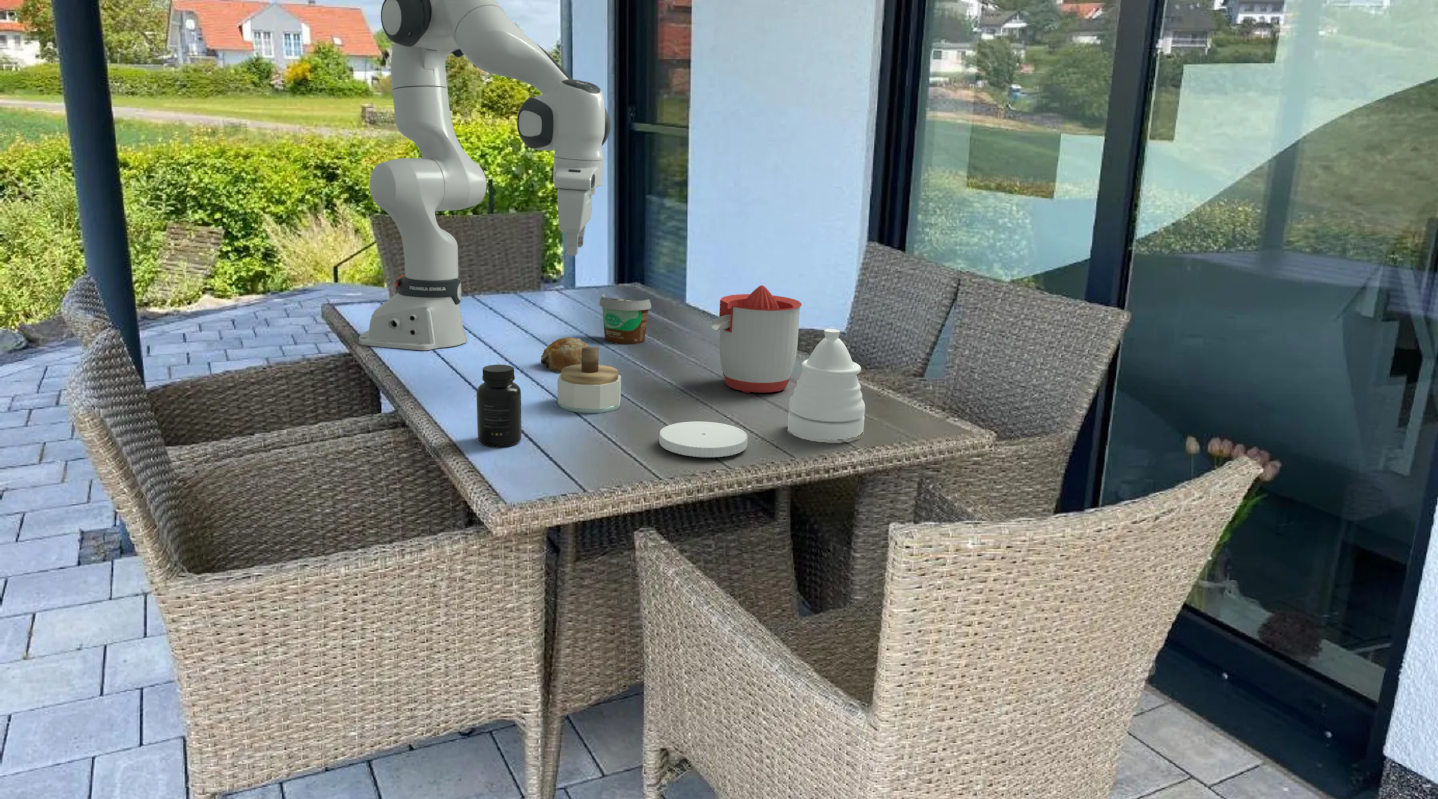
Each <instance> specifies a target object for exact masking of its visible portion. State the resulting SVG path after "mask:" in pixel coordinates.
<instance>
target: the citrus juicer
mask: <svg viewBox="0 0 1438 799" xmlns="http://www.w3.org/2000/svg"><path fill="white" fill-rule="evenodd" d="M802 306H803V305H802V302H801V301H800V300H797V299H795V298H791V297H787V296H786V297H785V296H781V295H774V294H772V293H771V292H770V291H769V289H768V288H767V287H766V286H764V285H759V286H758V287H757V288H755V289H754V290H753V291H752V292H751V293H745V294H743V293H741V294H738V293H737V294H732V295H731V294H730V295H726V296H722V297H721V298H720V300H719V315H718V316H719V317H716V318H715V319H713V320H712V323H711V327H710V328H711V329H712V331H715V332H716V331H717V332H718V331H719V357H720V358H719V359H720V365H721V369H722V374H723V378H724V381H725V384H726V386H728V387H730V388H731V389H734V390H738V391H743V392H742V393H744V392H746V393H745V394H751V393H750V392H753V393H773V392H781V391H780V390H782V391H783V390H785V389H786V388H787V385H788V384H789V381H790V379H791V375H792V373H793V370H794V367H795V362H796V359H797V352H798V343H799V327H800V315H801V314H800V313H801V311H800V310H801V307H802Z"/></svg>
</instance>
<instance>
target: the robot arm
mask: <svg viewBox="0 0 1438 799" xmlns="http://www.w3.org/2000/svg"><path fill="white" fill-rule="evenodd" d="M380 22H381V26H382V29H383V32H384V33H385V35H386V37H387V38H388V39H389V40H390V42H393V44H392V47H391V48H392V49H391V59H390V60H391V61H390V76H391V78H390V79H391V92H392V101H393V111H394V119H395V125H396V126H395V127H396V128H397V130H398V131H399V132H400V134H401V135H403V137H405V138H407V139H409V140H410V141H412V142H413V143H414V144H415V146H417V148H418V150H419V152H420V154H421V158H420V157H417V158H416V157H413V158H412V157H410V158H407V157H406V158H403V157H402V158H401V157H400V158H395V159H390V160H386V161H383V162H380V163H378V164H376V165H375V167H374V168H373V169H372V171H371V174H370V178H369V191H370V194H371V196H372V199H373V201H374V203H376V205H377V206H378V207H379V208H380V209H382V210H383V211H385V213H387V215H389V216H390V217H391V220H392V221H394V223H395V225H396V227H397V229H398V231H399V234H400V237H401V241H402V246H403V247H402V248H403V260H404V273H403V274H401V275H400V276H398V278H397V279H396V280H395V282H394V287H395V290H396V292H397V293H396V294H394V295H393V296H392V297H390V298H389V299H388V300H386V301H385V302H384V303H383V304H381V305H380V306H379V307H377V308H376V309H375V310H374V311H373V312H372V314H371V317H370V323H369V328H368V329H369V330H366V331H365V332H363V333H362V334H360V335H359V337H358V343H359V345H361V346H369V347H379V348H380V347H381V348H392V349H404V350H413V351H414V350H415V351H416V350H417V351H429V350H436V349H441V348H450V347H456V346H459V345H463V344H464V343H466V342H468V338H467V335H466V332H465V327H464V324H463V318H462V312H461V304H460V303H461V302H462V282H461V277H460V276H459V246H458V245H459V244H458V242H457V240H456V239H455V237H454V236H453V235H452V234H451V233H449V232H448V231H446V230H445V229H443V228H441V227H440V226H439V224H438V221H437V217H436V212H444V211H448V212H449V211H460V210H465V209H469V208H472V207H475V206H477V205H479V204H480V203H481V202H482V201H483V199H484V197H485V195H486V192H487V178H486V175H485V173H484V170H483V169H482V167H481V166H480V164H478V163H477V162H476V161H475V160H473V159H472V158H471V157H470V156H469V155H468V154H467V152H466V151H465V150H464V147H462V145H461V144H460V142H459V140H458V137H457V136H456V133H455V129H454V127H453V121H452V116H451V109H450V103H449V102H450V101H449V93H448V92H449V90H448V84H447V83H448V82H447V76H446V60H447V58H448V57H449V55H450V54H452V55H453V56H454V57H455V58H461V57H463V56H465V58H466V59H467V60H468V61H469V62H471V63H472V64H473V65H474V66H475V67H477V69H479V70H481V71H483V72H485V73H489V74H492V75H498V76H501V77H507V78H510V79H515V80H517V81H521V82H522V83H526V84H528V85H530V86H532V87H534V88H535V89H536V90H537V91H539V92H540V93H541V95H537V96H534V97H529V98H527V99H526V100H525V101H524V102H523V103H522V104H521V106H520V107H519V110H518V113H517V119H516V127H517V132H518V135H519V137H520V139H521V141H522V142H523V144H525V146H527V147H528V148H529V149H533V150H537V151H553V152H554V154H553V173H552V174H553V175H552V183H554V185H553V186H554V188H555V189H557V212H558V214H557V216H558V225H559V230H560V232H561V233H565V241H566V254H567V256H571V257H572V256H573V257H575V256H577V254H578V251H579V248H582V247H583V246H584V236H585V233H586V232H585V231H586V225H587V224H588V223H589V221H590V220H591V218H592V213H593V211H592V210H593V209H592V208H593V196H594V195H595V194H596V188H598V187H601V186H603V179H604V177H603V176H604V175H603V173H604V154H603V148H602V147H603V145H604V144H605V143H606V142H607V140H608V138H609V135H610V132H611V118H610V116H609V113H608V111H607V109H606V107H605V99H604V94H603V91H602V89H601V88H600V87H599V86H598V85H596V84H595V83H592V82H588V81H583V80H580V79H573V78H572V77H571V76H570V75H569V74H568V72H567V71H565V70H564V68H563V67H562V66H561V65H560V64H559V63H558V62H557V61H556V60H555V59H554V57H552V56H551V55H550V53H548V52H547V51H546V50H545V49H544V48H543V47H541V46H540V45H539V44H538V43H536V42H535V41H534V40H533V39H532V38H530V37H529V36H528V35H527V34H526V33H525V32H524V31H522V30H521V29H520V27H518V26H517V24H515V22H514V21H512V19H511V18H510V17H509V16H508V14H507V12H505V11H504V9H503V7H501V5H500V4H499V3H498V2H497V1H496V0H383V3H382V5H381V10H380Z"/></svg>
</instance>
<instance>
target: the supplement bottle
mask: <svg viewBox="0 0 1438 799" xmlns="http://www.w3.org/2000/svg"><path fill="white" fill-rule="evenodd" d="M481 376H482V377H481V378H482V379H481V380H482V381H483V383H481V384H479V386H478V387H477V388H476V421H477V423H476V424H477V441H478V442H479V444H481V445H483V446H484V447H488V448H489V447H490V448H507V447H512V446H516V445H517V444H519V443H520V442H521V440H522V391H521V387H520V386H519V385H518V384H517V383H515V382H514V381H515V379H516V376H515V368H514V367H513V366H512V365H509V364H490V365H489V364H488V365H486V366H484V367H483V368H482V375H481Z"/></svg>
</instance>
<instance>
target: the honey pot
mask: <svg viewBox="0 0 1438 799" xmlns="http://www.w3.org/2000/svg"><path fill="white" fill-rule="evenodd" d="M823 332H824V333H823V334H824V338H823V339H822V340H821V341H819V343H818V344H817V345H816V346H815V348H814V349H813V351H812V352H811V354H810V355H809V357H808V359H805V360H803V361H802V362H801V363H800V365H801V369H802V371H801V374H800V376H799V378H798V379H797V380H796V386H795V387H794V389H793V394H792V395H791V396H790V398H789V400H788V402H789V403H788V404H789V405H788V414H787V415H788V416H787V418H788V419H787V427H788V429H787V431H788V430H790V431H791V432H792V433H796V434H797V435H800V436H803V437H810V438H816V439H827V440H831V439H832V440H837V439H847V438H851V437H857V436H858V435H860V434H861V433H862V432H863V433H864V427H865V413H866V412H865V411H866V405H865V401H864V400H863V393H862V391H861V389H862V387H861V383H859V379H858V376H857V375H859V373H861V371H862V367H861V365H859V364H858V363H857V362H854V361H853V360H852V357H851V354H850V352H849V350H848V348H847V346H846V345H845V343H844V342H843V341H842V340H841V339H840V338H839V336H840V335H841V331H840V330H839V329H834V328H825V329H824V330H823Z"/></svg>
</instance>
